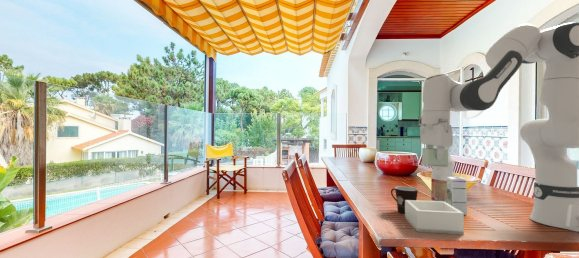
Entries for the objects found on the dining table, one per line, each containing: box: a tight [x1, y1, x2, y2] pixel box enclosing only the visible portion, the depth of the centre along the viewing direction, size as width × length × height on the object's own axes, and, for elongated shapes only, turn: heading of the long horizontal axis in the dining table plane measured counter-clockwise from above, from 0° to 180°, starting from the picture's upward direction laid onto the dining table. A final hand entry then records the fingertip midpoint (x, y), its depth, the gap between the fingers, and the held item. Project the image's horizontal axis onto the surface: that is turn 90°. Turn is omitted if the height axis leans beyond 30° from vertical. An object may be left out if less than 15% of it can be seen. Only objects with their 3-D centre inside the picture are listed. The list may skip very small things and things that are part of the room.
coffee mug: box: [390, 185, 419, 216], centre depth 112 cm, size 12×9×10 cm
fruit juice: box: [430, 147, 456, 203], centre depth 122 cm, size 9×9×28 cm
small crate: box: [421, 147, 448, 167], centre depth 96 cm, size 6×6×6 cm
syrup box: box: [447, 176, 468, 216], centre depth 111 cm, size 6×6×14 cm
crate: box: [404, 199, 465, 235], centre depth 96 cm, size 14×14×7 cm
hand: (434, 158), depth 96 cm, fingers closed on small crate, 6 cm apart
